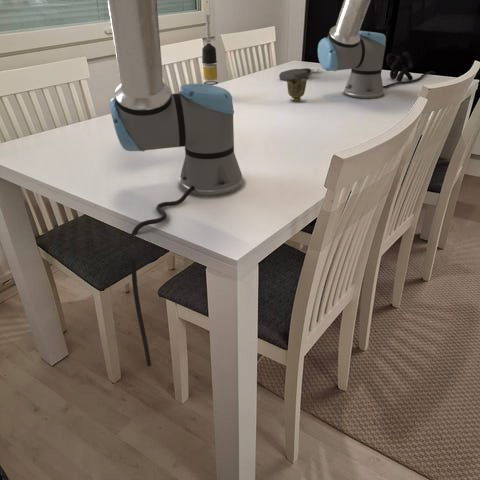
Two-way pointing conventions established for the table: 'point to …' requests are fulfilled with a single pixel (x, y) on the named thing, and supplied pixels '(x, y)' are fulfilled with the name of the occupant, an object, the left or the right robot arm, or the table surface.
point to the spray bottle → (297, 73)
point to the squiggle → (399, 66)
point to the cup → (296, 88)
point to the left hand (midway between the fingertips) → (142, 103)
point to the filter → (209, 58)
